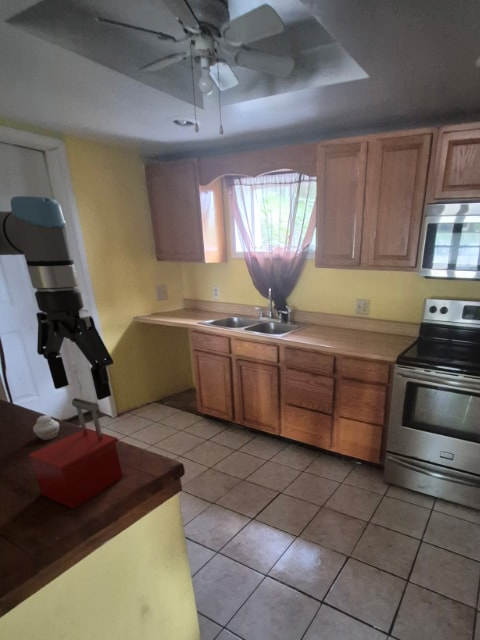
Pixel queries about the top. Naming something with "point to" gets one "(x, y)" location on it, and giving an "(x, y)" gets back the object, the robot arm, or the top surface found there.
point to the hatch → (76, 441)
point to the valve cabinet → (79, 477)
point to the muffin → (46, 428)
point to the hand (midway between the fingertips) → (82, 392)
